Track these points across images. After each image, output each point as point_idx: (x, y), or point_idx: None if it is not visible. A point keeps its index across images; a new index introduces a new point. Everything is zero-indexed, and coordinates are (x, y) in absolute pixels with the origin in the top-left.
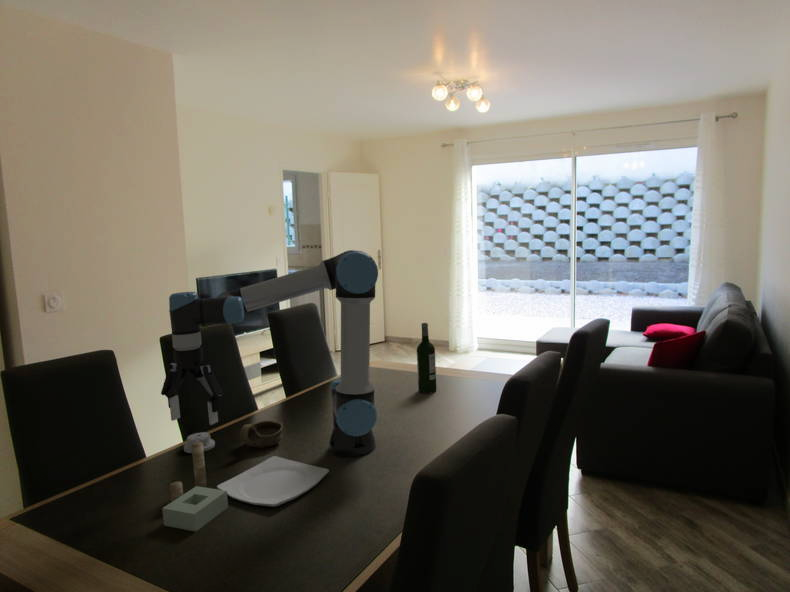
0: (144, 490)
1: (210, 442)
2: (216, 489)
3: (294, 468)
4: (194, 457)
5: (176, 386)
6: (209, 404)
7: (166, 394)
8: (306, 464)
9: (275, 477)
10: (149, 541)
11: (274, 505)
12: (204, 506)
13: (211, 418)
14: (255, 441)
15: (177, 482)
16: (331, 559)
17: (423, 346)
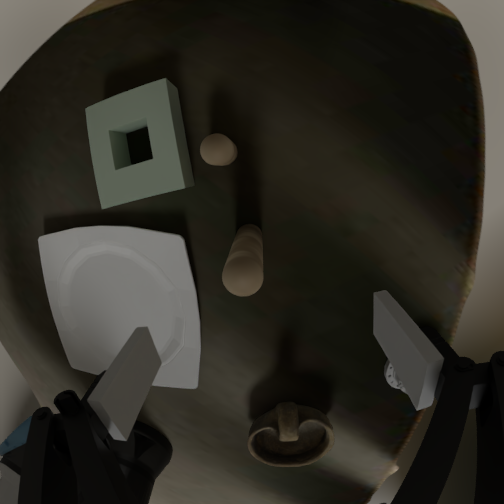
0: (368, 167)
1: (394, 379)
2: (126, 201)
3: None
4: (240, 245)
5: (413, 461)
6: (95, 390)
7: (475, 368)
8: None
9: None
10: (155, 48)
11: (40, 237)
12: (89, 137)
13: (126, 345)
14: (275, 414)
15: (221, 157)
16: None
17: None
